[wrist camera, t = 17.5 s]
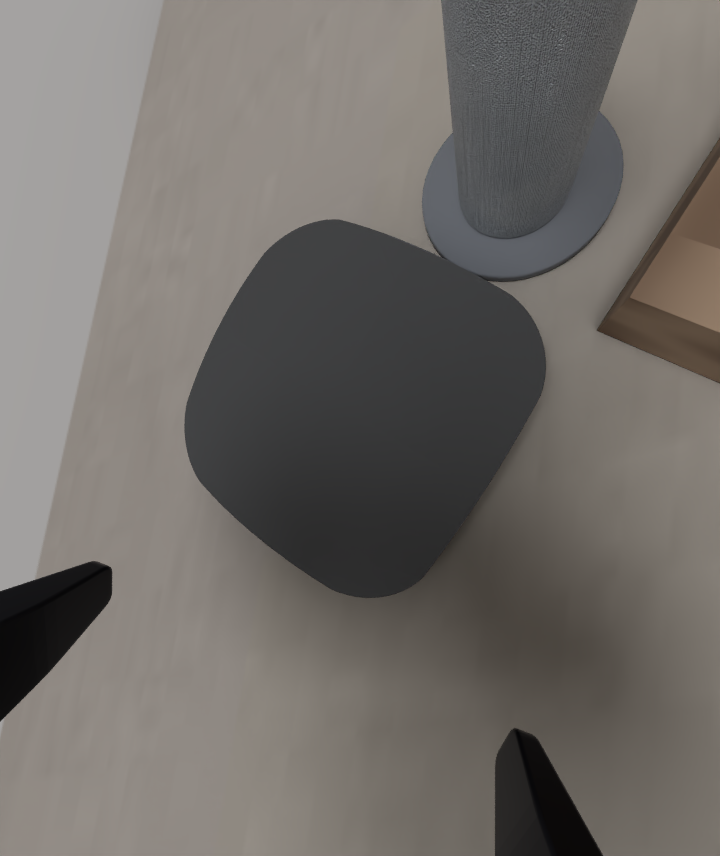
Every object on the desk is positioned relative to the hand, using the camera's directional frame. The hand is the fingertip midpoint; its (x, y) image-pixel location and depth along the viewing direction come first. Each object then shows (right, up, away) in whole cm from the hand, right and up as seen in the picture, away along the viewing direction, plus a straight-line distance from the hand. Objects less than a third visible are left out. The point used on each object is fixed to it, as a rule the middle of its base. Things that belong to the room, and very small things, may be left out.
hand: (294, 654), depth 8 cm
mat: (+8, +15, +9) cm, 19 cm away
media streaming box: (+1, +6, +11) cm, 13 cm away
